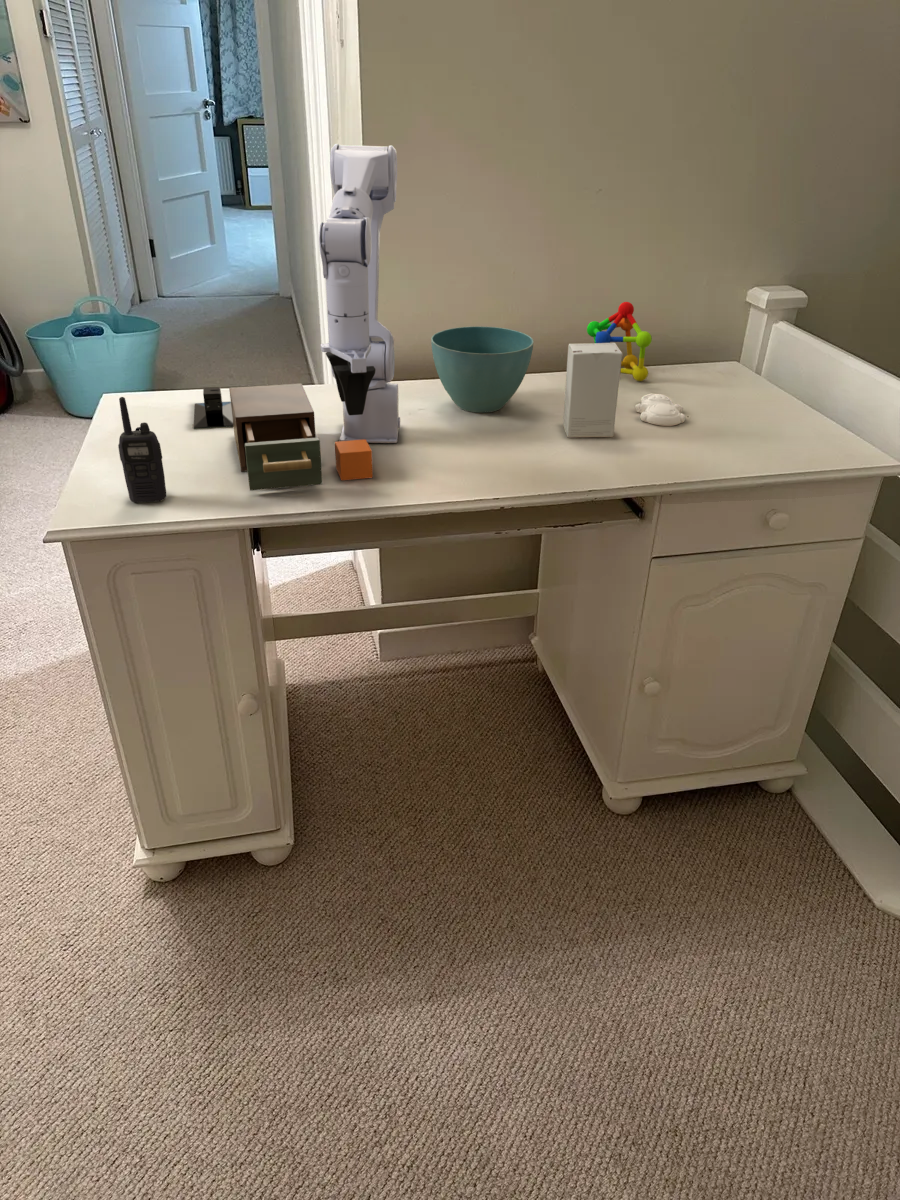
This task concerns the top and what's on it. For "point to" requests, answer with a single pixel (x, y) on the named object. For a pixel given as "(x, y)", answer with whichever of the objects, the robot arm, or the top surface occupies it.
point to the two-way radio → (141, 461)
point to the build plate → (212, 411)
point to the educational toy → (624, 339)
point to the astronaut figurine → (660, 410)
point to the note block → (353, 459)
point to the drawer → (281, 454)
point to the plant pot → (481, 365)
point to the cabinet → (267, 409)
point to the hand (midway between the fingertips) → (351, 407)
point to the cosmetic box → (591, 389)
